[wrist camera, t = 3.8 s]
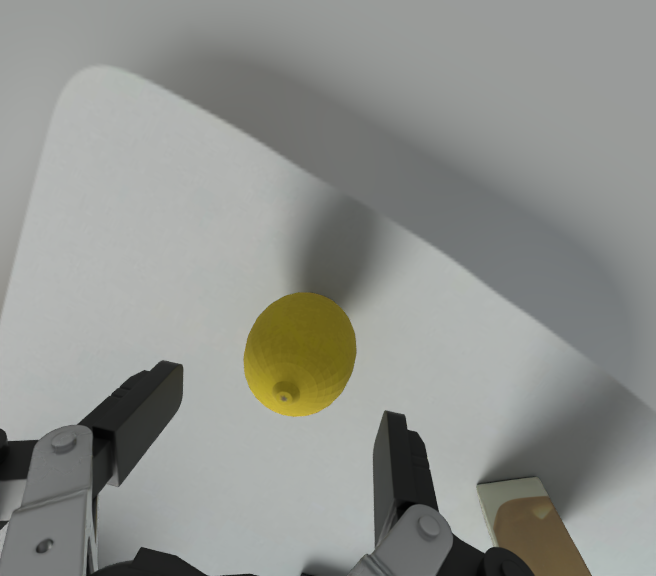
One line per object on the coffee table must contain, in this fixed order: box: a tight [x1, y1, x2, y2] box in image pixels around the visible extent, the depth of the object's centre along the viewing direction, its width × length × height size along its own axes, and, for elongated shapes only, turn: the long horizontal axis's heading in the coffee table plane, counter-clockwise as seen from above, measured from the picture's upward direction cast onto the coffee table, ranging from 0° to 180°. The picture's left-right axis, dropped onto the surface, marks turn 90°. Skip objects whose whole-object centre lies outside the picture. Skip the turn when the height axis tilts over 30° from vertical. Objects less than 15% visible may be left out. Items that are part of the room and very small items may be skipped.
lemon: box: [244, 292, 356, 417], centre depth 17 cm, size 6×6×8 cm
